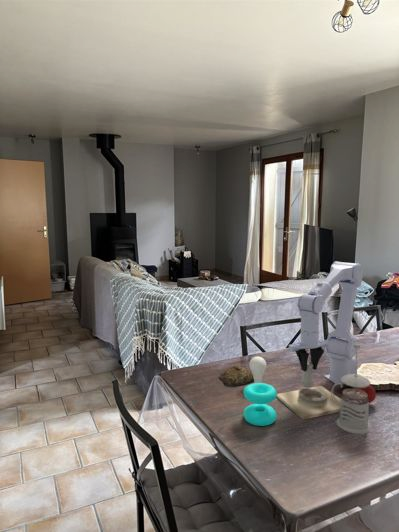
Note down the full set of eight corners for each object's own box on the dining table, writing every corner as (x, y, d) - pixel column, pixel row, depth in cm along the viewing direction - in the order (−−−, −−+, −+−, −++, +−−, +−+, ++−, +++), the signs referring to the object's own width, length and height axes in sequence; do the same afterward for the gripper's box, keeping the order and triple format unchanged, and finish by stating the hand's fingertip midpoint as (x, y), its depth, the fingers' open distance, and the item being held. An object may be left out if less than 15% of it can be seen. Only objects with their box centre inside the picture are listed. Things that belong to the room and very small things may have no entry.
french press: (368, 437, 113) (372, 351, 110) (326, 426, 120) (329, 344, 116) (374, 421, 122) (378, 341, 118) (334, 411, 128) (337, 335, 124)
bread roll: (258, 383, 150) (258, 370, 149) (227, 388, 146) (227, 375, 145) (243, 370, 162) (243, 358, 161) (214, 375, 158) (214, 363, 157)
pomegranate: (374, 401, 134) (375, 378, 133) (375, 409, 129) (377, 385, 127) (355, 398, 136) (356, 376, 135) (356, 406, 131) (357, 383, 129)
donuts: (236, 386, 124) (261, 378, 130) (237, 416, 126) (261, 408, 131) (258, 399, 116) (283, 390, 121) (258, 431, 117) (283, 421, 123)
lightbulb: (265, 390, 143) (266, 360, 142) (248, 389, 145) (248, 359, 143) (266, 383, 149) (266, 354, 148) (250, 381, 151) (250, 353, 149)
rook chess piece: (298, 382, 139) (299, 360, 137) (310, 381, 139) (312, 359, 138) (303, 388, 134) (304, 366, 133) (316, 387, 135) (317, 365, 133)
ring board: (321, 388, 144) (321, 380, 144) (351, 409, 129) (351, 400, 129) (276, 396, 138) (276, 388, 138) (302, 419, 123) (303, 410, 123)
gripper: (321, 324, 140) (320, 362, 141) (284, 329, 135) (283, 368, 137) (334, 330, 133) (332, 369, 135) (295, 335, 128) (294, 376, 130)
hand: (308, 369), depth 135 cm, fingers closed on rook chess piece, 3 cm apart
